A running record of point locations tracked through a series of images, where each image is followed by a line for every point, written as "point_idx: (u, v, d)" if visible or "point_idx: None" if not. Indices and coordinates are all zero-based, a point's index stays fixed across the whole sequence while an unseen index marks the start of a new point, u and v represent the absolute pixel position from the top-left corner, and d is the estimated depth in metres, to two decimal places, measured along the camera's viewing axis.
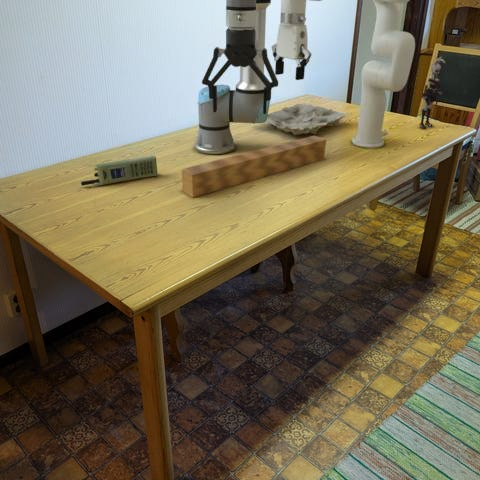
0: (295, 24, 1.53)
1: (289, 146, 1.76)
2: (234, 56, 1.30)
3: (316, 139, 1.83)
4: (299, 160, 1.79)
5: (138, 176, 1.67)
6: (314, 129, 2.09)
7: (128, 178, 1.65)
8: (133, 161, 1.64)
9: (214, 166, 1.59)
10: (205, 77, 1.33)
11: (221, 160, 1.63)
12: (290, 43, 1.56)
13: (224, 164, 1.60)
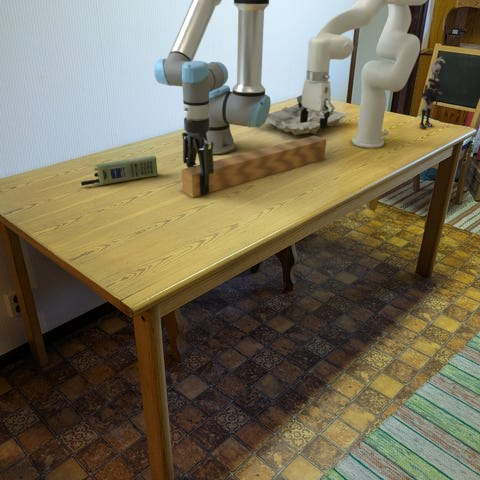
0: (320, 81, 1.69)
1: (289, 146, 1.76)
2: (189, 138, 1.52)
3: (316, 139, 1.83)
4: (299, 160, 1.79)
5: (138, 176, 1.67)
6: (314, 129, 2.09)
7: (128, 178, 1.65)
8: (133, 161, 1.64)
9: (214, 166, 1.59)
10: (183, 157, 1.59)
11: (221, 160, 1.63)
12: (315, 97, 1.72)
13: (224, 164, 1.60)
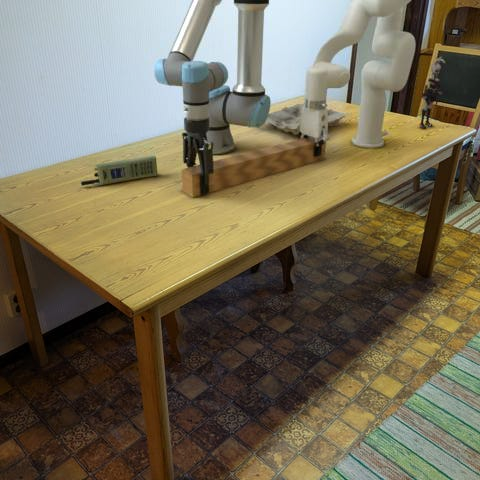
0: (317, 109, 1.74)
1: (289, 146, 1.76)
2: (189, 138, 1.52)
3: None
4: (299, 160, 1.79)
5: (138, 176, 1.67)
6: None
7: (128, 178, 1.65)
8: (133, 161, 1.64)
9: (214, 166, 1.59)
10: (183, 157, 1.59)
11: (221, 160, 1.63)
12: (313, 124, 1.77)
13: (224, 164, 1.60)
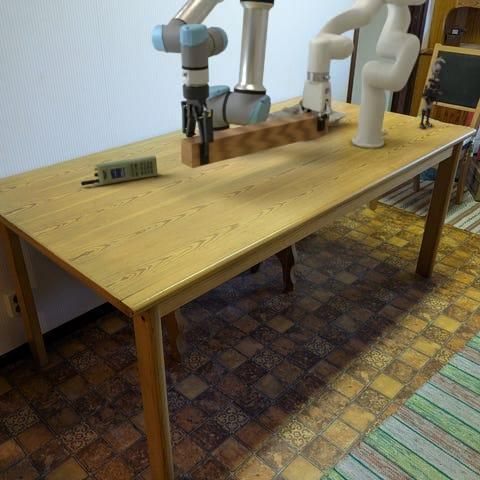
0: (320, 82, 1.69)
1: (292, 120, 1.71)
2: (188, 106, 1.47)
3: None
4: (302, 135, 1.74)
5: (138, 176, 1.67)
6: None
7: (128, 178, 1.65)
8: (133, 161, 1.64)
9: (215, 136, 1.54)
10: (183, 127, 1.54)
11: (222, 131, 1.58)
12: (316, 98, 1.72)
13: (224, 135, 1.55)
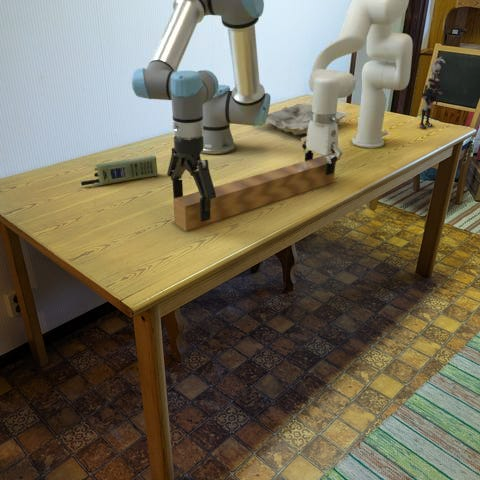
0: (326, 124, 1.54)
1: (295, 170, 1.57)
2: (180, 160, 1.31)
3: (325, 160, 1.64)
4: (307, 185, 1.60)
5: (138, 176, 1.67)
6: None
7: (128, 178, 1.65)
8: (133, 161, 1.64)
9: None
10: (168, 170, 1.40)
11: (218, 187, 1.44)
12: (321, 141, 1.57)
13: (221, 193, 1.41)
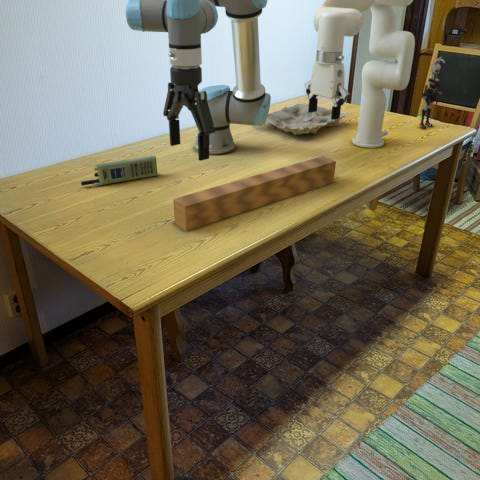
0: (332, 63, 1.45)
1: (295, 170, 1.57)
2: (177, 93, 1.23)
3: (325, 160, 1.64)
4: (307, 185, 1.60)
5: (138, 176, 1.67)
6: (314, 129, 2.09)
7: (128, 178, 1.65)
8: (133, 161, 1.64)
9: (211, 194, 1.40)
10: (164, 109, 1.32)
11: (218, 187, 1.44)
12: (326, 82, 1.48)
13: (221, 193, 1.41)
